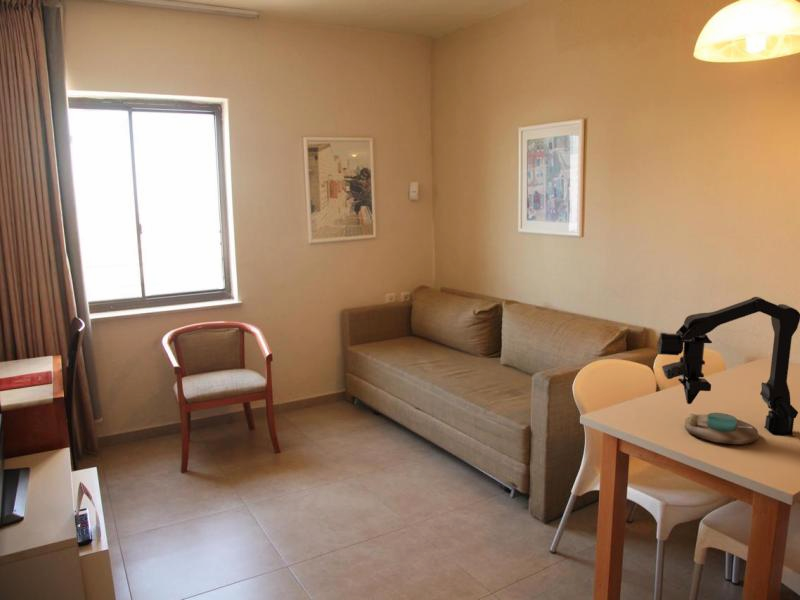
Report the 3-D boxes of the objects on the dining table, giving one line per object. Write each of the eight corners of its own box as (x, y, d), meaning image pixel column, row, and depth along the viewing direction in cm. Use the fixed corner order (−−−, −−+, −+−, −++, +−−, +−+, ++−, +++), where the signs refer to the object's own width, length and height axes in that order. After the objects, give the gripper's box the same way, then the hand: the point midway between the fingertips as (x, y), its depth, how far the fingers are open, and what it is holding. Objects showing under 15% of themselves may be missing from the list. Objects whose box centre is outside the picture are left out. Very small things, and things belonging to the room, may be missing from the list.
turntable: (742, 420, 201) (743, 407, 200) (769, 446, 182) (770, 431, 181) (676, 417, 204) (677, 404, 203) (695, 441, 184) (697, 427, 184)
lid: (730, 422, 196) (731, 413, 195) (740, 432, 188) (741, 422, 187) (703, 421, 197) (703, 412, 196) (712, 431, 189) (713, 421, 188)
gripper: (658, 347, 206) (654, 392, 209) (674, 363, 188) (670, 412, 191) (694, 348, 204) (690, 394, 207) (713, 364, 186) (709, 414, 189)
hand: (688, 403), depth 199 cm, fingers closed
